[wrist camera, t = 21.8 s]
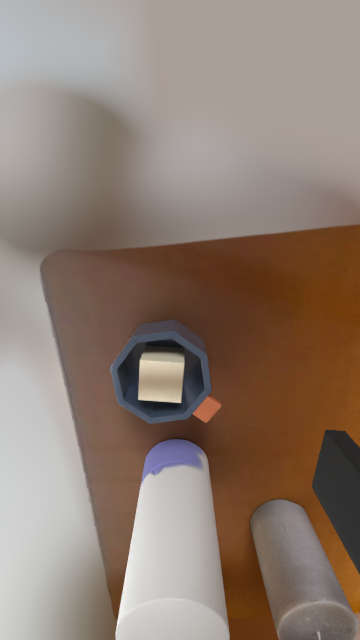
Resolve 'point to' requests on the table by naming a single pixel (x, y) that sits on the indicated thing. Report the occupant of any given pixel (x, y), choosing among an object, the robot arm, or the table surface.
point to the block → (161, 374)
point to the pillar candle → (299, 576)
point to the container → (174, 552)
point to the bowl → (193, 379)
